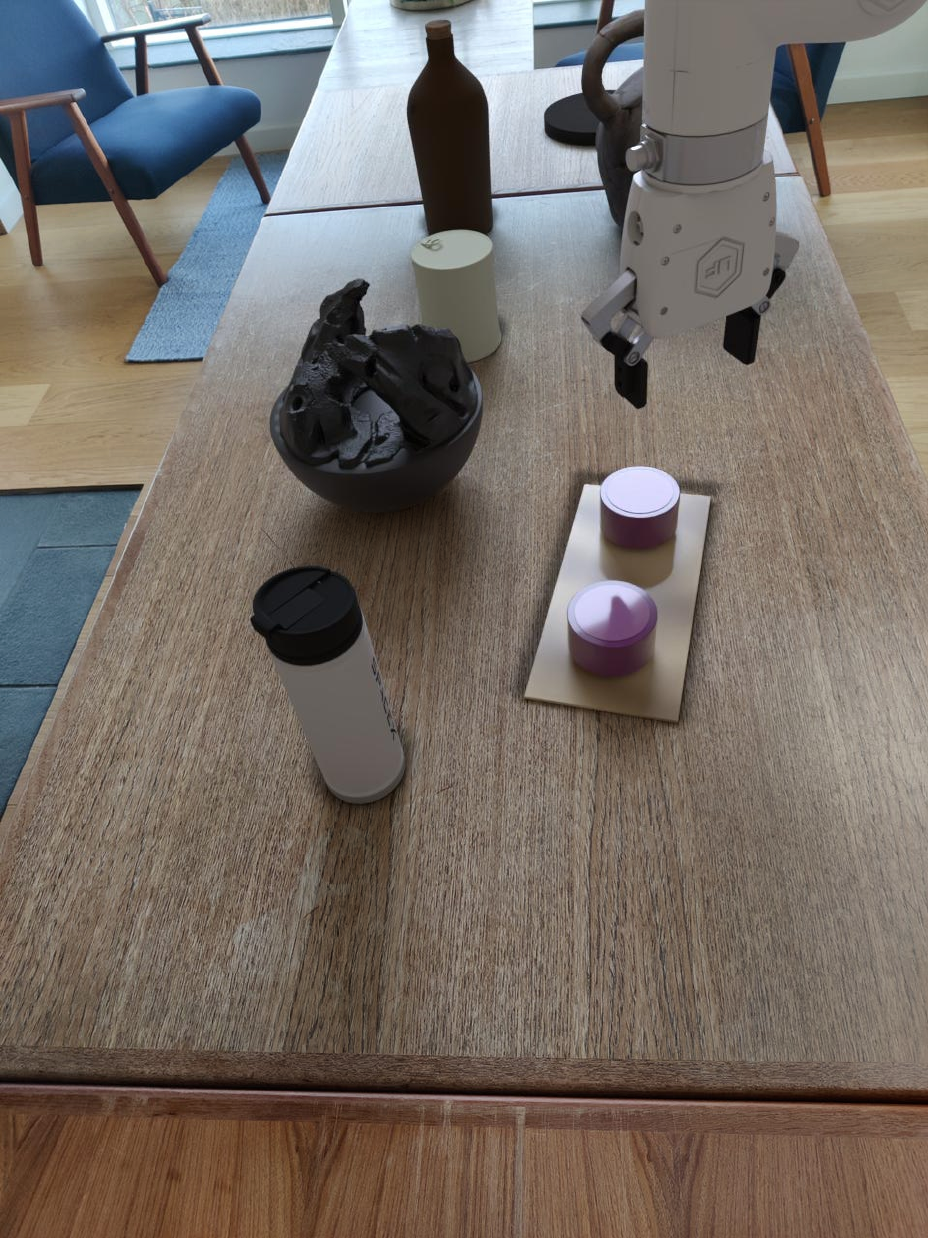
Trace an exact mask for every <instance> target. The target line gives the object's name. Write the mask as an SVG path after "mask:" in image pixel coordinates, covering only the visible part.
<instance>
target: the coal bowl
mask: <svg viewBox="0 0 928 1238" xmlns="http://www.w3.org/2000/svg"><path fill="white" fill-rule="evenodd" d="M370 286H371V283H370V282H368V281H366V279H364V278H360V277H359V278H356V279H353V280H350V281H348V282H347V283H346V284H345V285H344V287H343V288H341V289H338V290H337V291H335V292H333V293H331V294H328V295H326V296H325V297H324V298H323V300H322V302H321V303H320V305H319V309H318V312H319V318H317V319H316V320H315V321H313V323H312V325H311V327H310V329H309V331H308V334H307V337H306V339H305V342H304V344H303V346H302V348H301V352H300V356H299V358H298V360H297V363H296V365H295V366H294V367H295V368H294V370H293V373H292V376H291V379H290V381H289V382H288V385H287V386H285V388H284V389H283V390H282V391H281V392H280V394H279V396H277V398H276V400H275V402H274V404H273V406H272V408H271V411H270V415H269V433H270V438H271V440H272V442H273V445H274V447H275V449H276V451H277V453H278V455H279V457H280V458H281V460H282V461H283V463H284V465H286V467H287V468H288V470H289V471H290V472H291V474H293V475H294V476H295V478H296V479H297V480H298V481H299V482H300V483H301V484H303V485H304V486H305V487H306V488H307V489H308V490H309V491H311V492H313V493H314V494H316V495H317V496H318V497H320V498H322V499H324V500H325V501H328V502H329V503H332V504H333V505H336V506H339V507H342V508H344V509H349V510H353V511H357V512H364V513H390V512H396V511H401V510H405V509H408V508H411V507H414V506H416V505H418V504H421V503H423V502H426V501H427V500H428V499H430V498H432V497H433V496H435V495H437V494H438V493H440V492H441V491H442V490H443V489H444V488H446V487H447V486H448V485H449V484H450V483H451V482H452V481H453V480H454V479H455V478H456V477H457V475H458V474H459V473H460V472H461V470H462V469H463V468H464V466H465V465H466V463H467V461H468V460H469V459H470V456H471V454H472V452H473V450H474V448H475V446H476V443H477V440H478V437H479V434H480V431H481V425H482V420H483V415H484V414H483V413H484V393H483V388H482V386H481V383H480V380H479V379H478V377H477V375H476V374H475V372H474V371H473V370H472V369H471V367H470V365H469V363H467V361H466V359H465V357H464V355H463V353H462V349H461V344H460V342H459V340H458V338H457V337H456V336H454V334H453V333H452V332H451V331H450V329H449V328H447V327H444V328H433V327H431V326H425V325H423V324H422V323H421V324H420V323H417V324H415V325H412V326H410V325H408V324H402V325H393V326H388V327H385V328H377V329H373V330H372V332H371V334H369V335H367V333H366V332H367V328H366V326H365V323H366V322H365V312H364V308H363V306H362V304H361V302H362V301H363V298H364V297H365V296H366V295H367V294H368V290H369V289H370V288H369V287H370Z"/></svg>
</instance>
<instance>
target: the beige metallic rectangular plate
mask: <svg viewBox="0 0 928 1238" xmlns="http://www.w3.org/2000/svg"><path fill="white" fill-rule="evenodd" d="M600 487H601V485H598V484H596V485H595V484H589V483H588V484H587V483H584V484H583V487H582V491H581V494H580V498H579V502H578V505H577V508H576V512H575V516H574V519H573V523H572V526H571V530H570V532H569V533H570V534H569V536H568V541H567V544H566V548H565V551H564V555H563V559H562V562H561V565H560V567H559V572H558V576H557V579H556V583H555V587H554V590H553V593H552V597H551V600H550V603H549V606H548V607H549V608H548V610H547V614H546V617H545V621H544V625H543V628H542V632H541V635H540V639H539V641H538V642H539V643H538V646H537V650H536V653H535V655H534V656H535V657H534V660H533V664H532V666H531V671H530V674H529V677H528V681H527V685H526V688H525V692H524V695H523V698H524V699H525V700H532V701H537V702H544V703H550V704H556V705H562V706H569V707H574V708H579V709H580V708H582V709H587V710H593V709H594V711H600V712H605V711H607V712H606V713H611V712H612V714H617V715H624V716H630V717H635V718H636V717H637V718H642V719H643V718H644V719H648V720H649V719H650V720H655V721H661V722H668V723H673V724H678V723H679V719H680V718H679V717H680V712H681V704H682V697H683V692H684V685H685V684H684V683H685V677H686V672H687V671H686V670H687V664H688V656H689V651H690V645H691V638H692V637H691V635H692V630H693V622H694V617H695V610H696V602H697V595H698V589H699V583H700V577H701V576H700V575H701V568H702V562H703V561H702V560H703V554H704V547H705V540H706V534H707V528H708V520H709V513H710V509H711V508H710V507H711V500H712V499H711V498H712V496H711V495H704V494H703V495H702V494H691V493H681V492H680V493H681V494H680V504H679V514H678V524H677V529H676V531H675V533H674V534H673V535H672V537H671V538H670V539H669V540H667V541H666V542H664V543H662V544H660V545H658V546H655V547H651V548H645V549H633V548H626V547H623V546H620V545H617V544H615V543H613V542H612V541H610V540H609V539H608V538H607V537H606V536H605V535H604V534H603V532H602V531H601V528H600V524H599V508H600ZM608 580H616V581H623V582H627V583H631V584H633V585H636V586H638V587H640V588H641V589H643V590H644V591H646V592H647V593H648V594H649V595H650V596H651V598H652V599H653V601H654V602H655V605H656V607H657V612H658V618H657V630H656V641H655V650H654V653H653V655H652V657H651V659H650V660H649V661H648V663H647V664H646V665H645V666H643V667H642V668H641V669H639V670H637V671H636V672H633V673H631V674H628V675H624V676H616V677H607V676H601V675H597V674H594V673H591V672H589V671H587V670H585V669H584V668H582V667H581V666H579V665H578V664H577V663H576V662H575V661H574V659H573V658H572V656H571V654H570V652H569V649H568V638H567V608H568V605H569V602H570V601H571V599H572V597H573V596H574V595H575V594H576V593H577V592H578V591H579V590H581V589H582V588H584V587H586V586H588V585H590V584H593V583H596V582H600V581H608Z"/></svg>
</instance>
